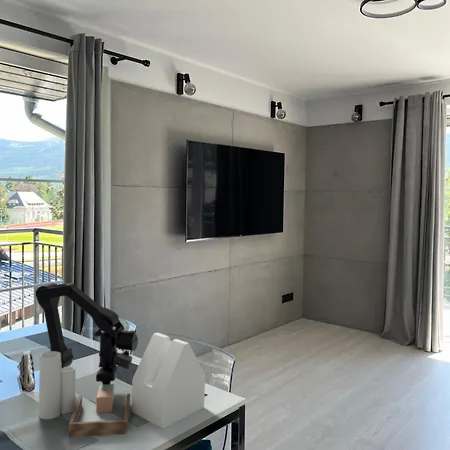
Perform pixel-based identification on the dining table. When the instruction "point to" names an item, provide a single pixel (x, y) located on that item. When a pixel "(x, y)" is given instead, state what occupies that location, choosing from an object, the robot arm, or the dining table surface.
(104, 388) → the sage block
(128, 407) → the box
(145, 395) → the white slotted block
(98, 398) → the terracotta block
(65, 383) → the white tubes
